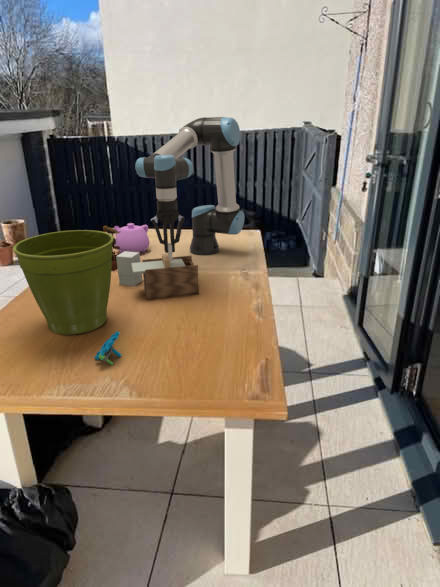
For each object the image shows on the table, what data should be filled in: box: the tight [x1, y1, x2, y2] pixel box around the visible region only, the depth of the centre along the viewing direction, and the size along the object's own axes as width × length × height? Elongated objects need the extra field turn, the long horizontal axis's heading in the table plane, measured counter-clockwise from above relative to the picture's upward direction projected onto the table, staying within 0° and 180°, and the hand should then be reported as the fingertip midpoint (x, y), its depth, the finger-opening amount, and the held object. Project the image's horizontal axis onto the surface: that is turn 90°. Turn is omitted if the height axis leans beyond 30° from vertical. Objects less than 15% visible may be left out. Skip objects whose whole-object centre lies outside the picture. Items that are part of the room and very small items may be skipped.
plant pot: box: [12, 229, 114, 336], centre depth 138 cm, size 30×30×29 cm
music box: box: [102, 225, 120, 272], centre depth 193 cm, size 15×11×20 cm
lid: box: [131, 253, 185, 275], centre depth 164 cm, size 20×11×4 cm, turn 105°
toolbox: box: [141, 255, 200, 301], centre depth 167 cm, size 20×13×12 cm, turn 105°
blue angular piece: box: [94, 331, 122, 366], centre depth 122 cm, size 11×6×10 cm
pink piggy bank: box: [113, 222, 150, 254], centre depth 219 cm, size 20×20×15 cm
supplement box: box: [116, 251, 143, 287], centre depth 176 cm, size 7×7×13 cm
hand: (170, 260), depth 164 cm, fingers closed
